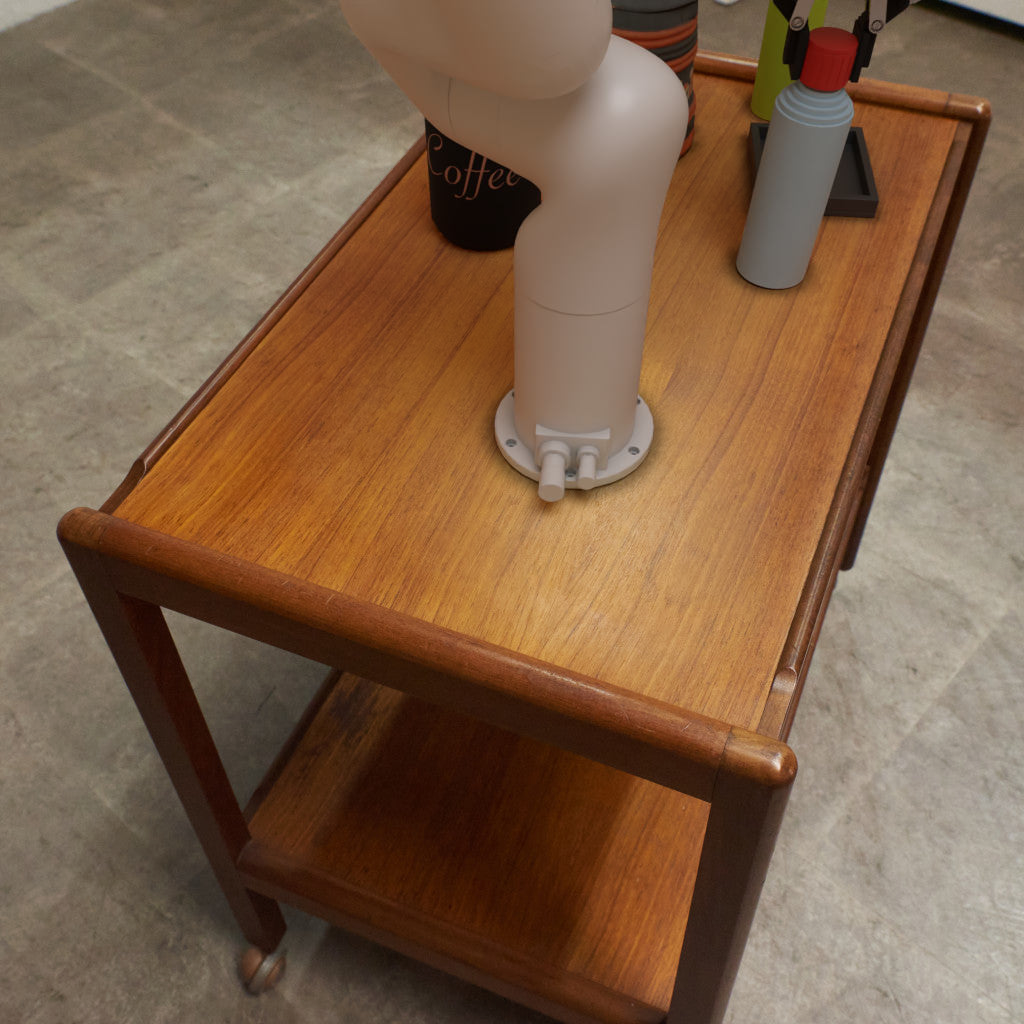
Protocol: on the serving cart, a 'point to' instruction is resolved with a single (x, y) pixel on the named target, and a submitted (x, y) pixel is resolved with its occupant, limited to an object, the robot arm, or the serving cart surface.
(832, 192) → the tray
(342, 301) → the serving cart surface
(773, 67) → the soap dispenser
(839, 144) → the bottle
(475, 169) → the coffee jar
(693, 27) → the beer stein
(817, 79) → the cap
